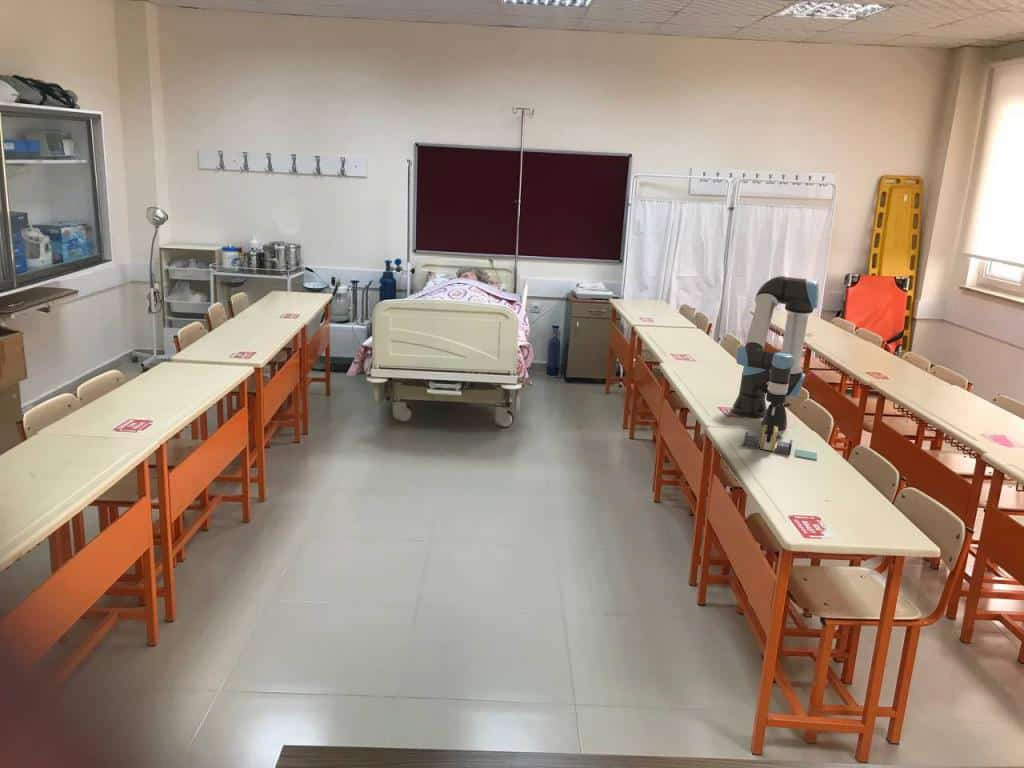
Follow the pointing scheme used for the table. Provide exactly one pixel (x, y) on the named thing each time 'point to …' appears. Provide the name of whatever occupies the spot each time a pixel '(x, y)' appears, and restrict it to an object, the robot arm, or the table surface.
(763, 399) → the robot arm
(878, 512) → the table surface
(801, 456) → the rubber pad
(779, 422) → the pump dispenser
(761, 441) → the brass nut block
